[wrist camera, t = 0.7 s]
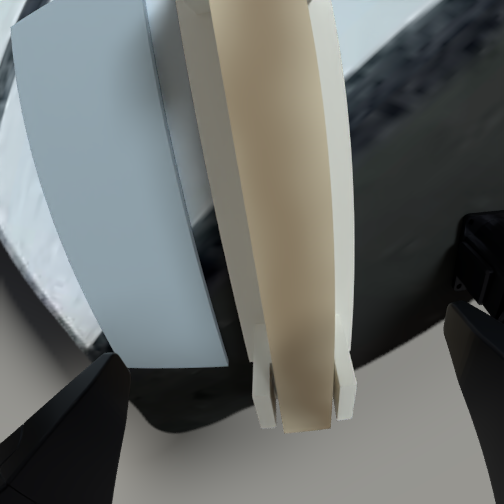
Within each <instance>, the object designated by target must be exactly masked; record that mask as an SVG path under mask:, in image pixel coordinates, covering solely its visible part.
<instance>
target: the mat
mask: <svg viewBox="0 0 504 504" xmlns="http://www.w3.org/2000/svg"><path fill="white" fill-rule="evenodd" d="M11 39H12V49H13V58H14V66H15V74H16V80H17V87H18V93H19V98H20V104H21V109H22V114H23V119H24V123H25V128H26V132H27V136H28V140H29V144H30V148H31V152H32V156H33V159H34V163H35V167H36V170H37V173H38V177H39V180H40V183H41V187H42V190H43V193H44V196H45V199H46V202H47V205H48V208H49V211H50V213H51V216H52V219H53V222H54V224H55V227H56V230H57V232H58V235H59V238H60V240H61V243H62V245H63V248H64V250H65V252H66V255H67V257H68V260H69V262H70V264H71V267H72V269H73V271H74V273H75V276H76V278H77V280H78V282H79V284H80V287H81V289H82V291H83V293H84V295H85V297H86V299H87V301H88V303H89V305H90V307H91V309H92V311H93V313H94V315H95V317H96V319H97V321H98V323H99V325H100V327H101V329H102V331H103V333H104V334H105V336H106V338H107V340H108V342H109V343H110V345H111V347H112V349H113V351H114V352H115V353H117V354H118V355H119V356H120V357H121V359H122V361H123V362H124V364H125V365H126V367H127V368H197V367H221V366H228V363H229V360H228V357H227V354H226V351H225V347H224V344H223V341H222V337H221V334H220V331H219V327H218V324H217V320H216V317H215V313H214V310H213V306H212V303H211V299H210V296H209V292H208V289H207V285H206V281H205V278H204V274H203V271H202V267H201V263H200V259H199V256H198V252H197V248H196V244H195V240H194V236H193V232H192V228H191V225H190V221H189V217H188V212H187V208H186V204H185V200H184V196H183V192H182V188H181V183H180V179H179V175H178V170H177V166H176V162H175V157H174V153H173V148H172V144H171V139H170V134H169V130H168V125H167V120H166V115H165V110H164V105H163V100H162V95H161V90H160V85H159V79H158V74H157V69H156V63H155V58H154V52H153V46H152V40H151V34H150V28H149V22H148V15H147V9H146V2H145V0H53V1H52V2H50V3H48V4H46V5H45V6H43V7H41V8H40V9H38V10H36V11H35V12H33V13H31V14H30V15H28V16H27V17H25V18H24V19H22V20H20V21H19V22H17V23H16V24H15V25H13V26H12V27H11Z"/></svg>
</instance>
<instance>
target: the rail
mask: <svg viewBox="0 0 504 504" xmlns="http://www.w3.org/2000/svg"><path fill="white" fill-rule="evenodd" d="M209 4H210V10H211V16H212V21H213V27H214V33H215V38H216V44H217V50H218V56H219V61H220V67H221V73H222V78H223V84H224V90H225V96H226V101H227V107H228V113H229V118H230V124H231V130H232V136H233V141H234V147H235V153H236V159H237V164H238V170H239V176H240V181H241V187H242V193H243V199H244V204H245V210H246V216H247V222H248V227H249V233H250V239H251V245H252V250H253V256H254V262H255V268H256V273H257V279H258V285H259V291H260V296H261V302H262V308H263V314H264V319H265V325H266V331H267V337H268V342H269V348H270V354H271V360H272V365H273V371H274V377H275V383H276V389H277V394H278V400H279V405H280V412H281V417H282V423H283V429H284V433H295V432H305V431H313V430H322V429H329V428H330V427H331V413H332V397H333V378H334V349H335V261H334V232H333V211H332V194H331V180H330V167H329V155H328V144H327V134H326V124H325V115H324V107H323V99H322V91H321V83H320V76H319V69H318V62H317V56H316V49H315V43H314V37H313V31H312V26H311V20H310V15H309V9H308V4H307V0H209Z"/></svg>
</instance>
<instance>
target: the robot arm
mask: <svg viewBox="0 0 504 504" xmlns="http://www.w3.org/2000/svg"><path fill="white" fill-rule="evenodd" d="M470 219H471V221H470V222H469V220H470ZM468 222H469V223H468ZM458 284H459V285H458ZM452 287H453V289H454V290H455V291H462V290H466V289H467V290H468V291H469V293H470V294H471V295H472V296H473V298H474V299H475V300H476V302H477V303H478V304H479V305H483V306H484V307H485V309H486V310H487V311H488V313H489V314H490V315H488V314H486V313H485V312H483V311H481V310H479V309H478V308H476V307H474V306H472V305H471V304H469V303H467V302H465V301H463V300H460V301H456V302H452V303H450V304H449V305H448V307H447V312H446V317H445V322H444V336H445V339H446V342H447V345H448V348H449V351H450V355H451V358H452V361H453V365H454V369H455V372H456V376H457V379H458V382H459V385H460V388H461V390H462V393H463V396H464V399H465V401H466V404H467V407H468V409H469V412H470V415H471V418H472V421H473V424H474V427H475V430H476V432H477V436H478V439H479V442H480V445H481V449H482V451H483V455H484V459H485V462H486V466H487V469H488V473H489V477H490V481H491V485H492V489H493V493H494V498H495V502H496V504H504V210H501V211H490V212H480V213H470V214H467V215H466V216H465V217H464V219H463V225H462V232H461V239H460V244H459V248H458V254H457V260H456V265H455V270H454V277H453V282H452ZM130 384H131V374H130V371H129V369H128V368H127V367H126V365H125V364H124V362H123V361H122V359H121V357H120V356H119V355H118V354H117V353H104V354H102V355H101V356H100V357H99V358H98V359H96V360H95V361H94V362H93V363H92V364H91V365H90V366H88V367H87V368H86V369H85V370H84V371H83V372H81V373H80V374H79V375H78V376H77V377H76V378H75V379H74V380H72V381H71V382H70V383H69V384H68V385H67V386H65V387H64V388H63V389H62V390H61V391H60V392H59V393H57V394H56V395H55V396H54V397H53V398H52V399H51V400H49V401H48V402H47V403H46V404H45V405H44V406H43V407H42V408H40V409H39V410H38V411H37V412H36V413H35V414H34V415H33V416H31V417H30V418H29V419H28V420H27V421H26V422H25V423H24V425H21V426H20V427H19V428H18V429H17V430H16V431H15V432H13V433H12V434H11V435H10V436H9V437H8V438H6V439H5V440H4V441H3V442H2V443H0V504H112V500H113V493H114V486H115V480H116V474H117V469H118V463H119V457H120V452H121V447H122V441H123V436H124V431H125V426H126V419H127V410H128V401H129V392H130Z"/></svg>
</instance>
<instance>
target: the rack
mask: <svg viewBox="0 0 504 504" xmlns="http://www.w3.org/2000/svg"><path fill="white" fill-rule="evenodd" d="M175 2H176V8H177V14H178V20H179V26H180V32H181V38H182V44H183V49H184V55H185V61H186V66H187V72H188V77H189V83H190V88H191V93H192V99H193V104H194V109H195V114H196V120H197V125H198V130H199V135H200V140H201V145H202V150H203V155H204V160H205V165H206V170H207V175H208V180H209V185H210V189H211V194H212V199H213V204H214V208H215V213H216V218H217V222H218V227H219V232H220V236H221V241H222V245H223V250H224V254H225V259H226V263H227V268H228V272H229V277H230V281H231V285H232V290H233V294H234V298H235V303H236V307H237V311H238V316H239V320H240V324H241V328H242V332H243V337H244V341H245V345H246V349H247V353H248V357H249V361H250V362H253V386H252V398H253V401H254V405H255V408H256V412H257V415H258V419H259V422H260V426H261V429H267V428H276V399H277V398H278V394H277V389H276V383H275V377H274V371H273V365H272V360H271V354H270V348H269V342H268V337H267V331H266V325H265V319H264V314H263V308H262V302H261V296H260V291H259V285H258V279H257V273H256V268H255V262H254V256H253V250H252V245H251V239H250V233H249V227H248V222H247V216H246V210H245V204H244V199H243V193H242V187H241V181H240V176H239V170H238V164H237V159H236V153H235V147H234V141H233V136H232V130H231V124H230V118H229V113H228V107H227V101H226V96H225V90H224V84H223V78H222V73H221V67H220V61H219V56H218V50H217V44H216V38H215V33H214V27H213V21H212V16H211V10H210V4H209V0H175ZM307 4H308V9H309V15H310V20H311V26H312V31H313V37H314V43H315V49H316V56H317V62H318V69H319V76H320V83H321V91H322V99H323V107H324V115H325V124H326V134H327V144H328V155H329V167H330V180H331V194H332V211H333V232H334V261H335V349H334V378H333V399H334V405H335V411H336V418H337V421H341V420H347V419H352V415H353V409H354V402H355V396H356V390H357V381H356V377H355V373H354V369H353V365H352V361H351V357H350V353H349V351H350V348H351V334H352V317H353V293H354V199H353V175H352V158H351V144H350V131H349V120H348V110H347V100H346V91H345V83H344V75H343V68H342V61H341V54H340V47H339V41H338V35H337V29H336V23H335V18H334V13H333V7H332V2H331V0H307Z"/></svg>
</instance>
